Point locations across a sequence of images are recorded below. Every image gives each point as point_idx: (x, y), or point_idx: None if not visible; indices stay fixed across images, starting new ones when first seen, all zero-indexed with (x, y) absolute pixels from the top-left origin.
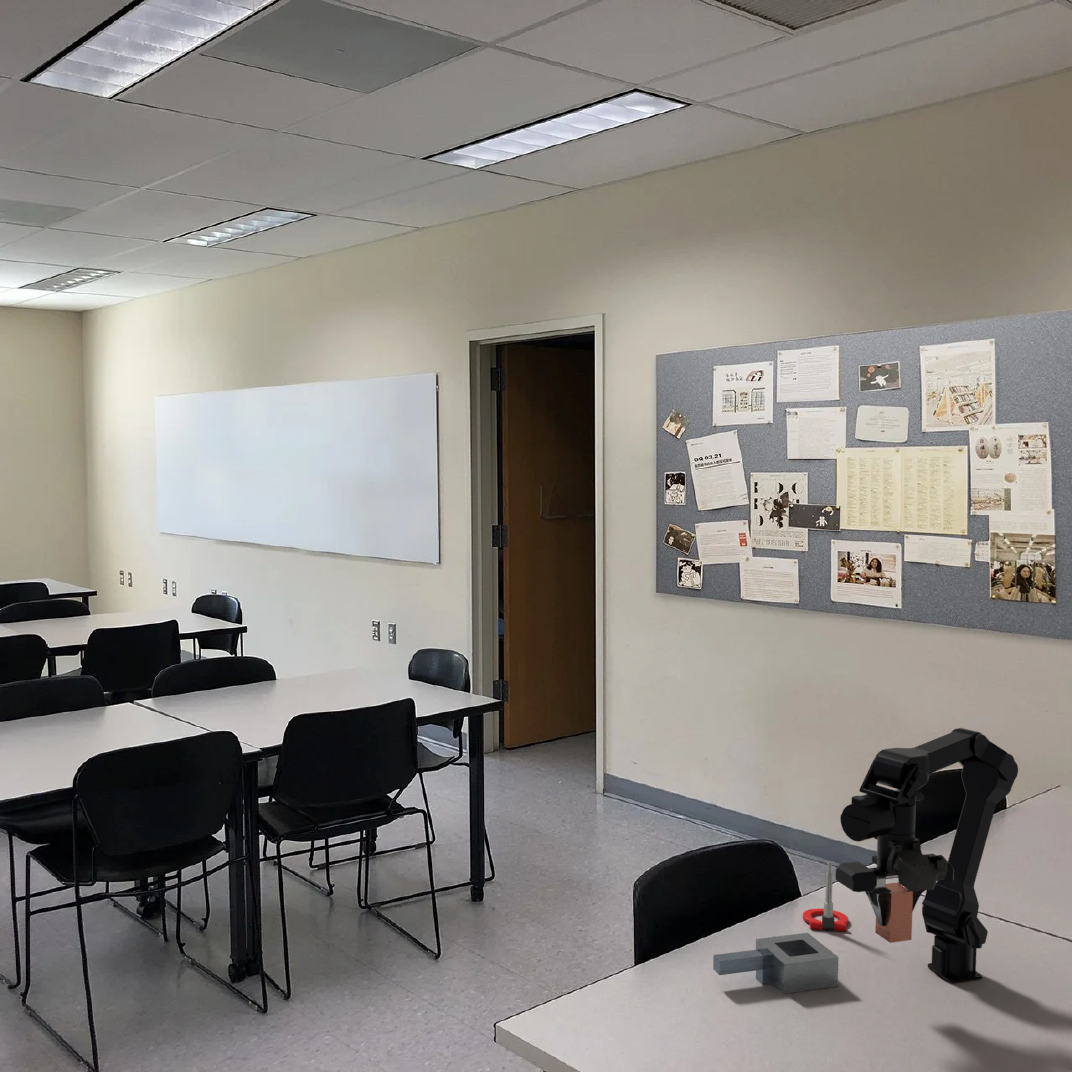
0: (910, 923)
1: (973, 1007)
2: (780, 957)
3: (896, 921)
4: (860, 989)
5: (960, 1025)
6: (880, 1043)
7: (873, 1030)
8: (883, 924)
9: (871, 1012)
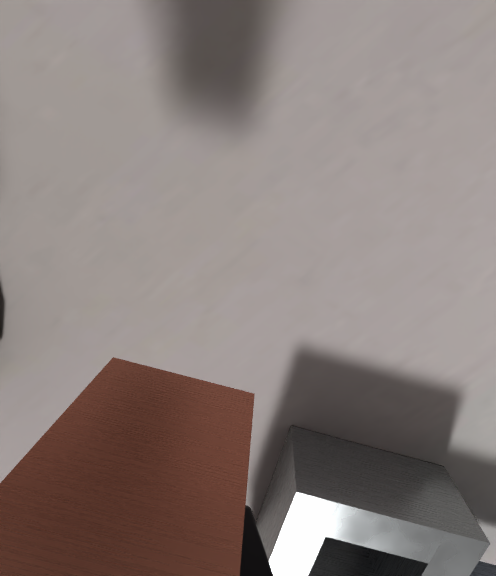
0: (68, 425)
1: (38, 151)
2: (458, 573)
3: (188, 483)
4: (250, 386)
5: (160, 90)
6: (470, 145)
7: (417, 213)
8: (247, 514)
9: (331, 288)
